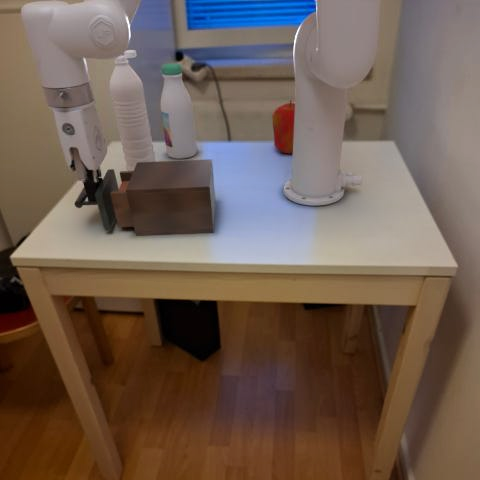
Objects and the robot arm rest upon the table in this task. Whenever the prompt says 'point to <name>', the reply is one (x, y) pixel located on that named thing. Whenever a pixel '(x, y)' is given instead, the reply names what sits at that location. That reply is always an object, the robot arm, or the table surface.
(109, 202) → the drawer
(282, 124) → the apple
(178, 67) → the milk bottle
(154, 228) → the cabinet
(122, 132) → the water bottle
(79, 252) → the table surface
